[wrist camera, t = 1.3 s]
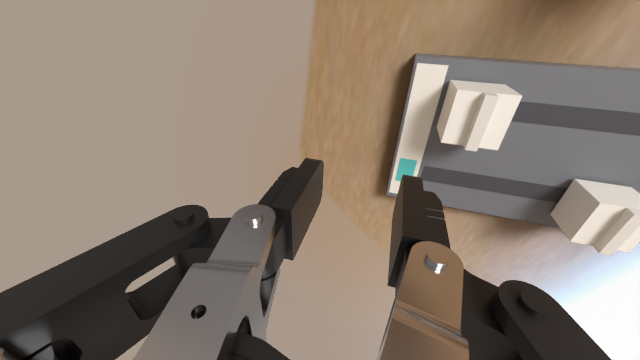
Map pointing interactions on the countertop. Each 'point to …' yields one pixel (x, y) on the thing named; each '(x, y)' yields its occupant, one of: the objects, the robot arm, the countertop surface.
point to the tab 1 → (476, 114)
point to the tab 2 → (600, 215)
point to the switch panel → (522, 135)
